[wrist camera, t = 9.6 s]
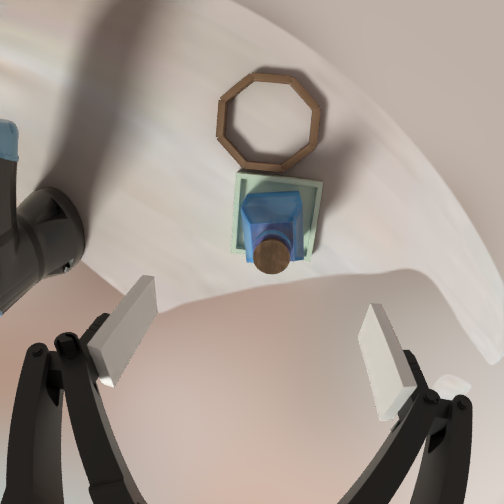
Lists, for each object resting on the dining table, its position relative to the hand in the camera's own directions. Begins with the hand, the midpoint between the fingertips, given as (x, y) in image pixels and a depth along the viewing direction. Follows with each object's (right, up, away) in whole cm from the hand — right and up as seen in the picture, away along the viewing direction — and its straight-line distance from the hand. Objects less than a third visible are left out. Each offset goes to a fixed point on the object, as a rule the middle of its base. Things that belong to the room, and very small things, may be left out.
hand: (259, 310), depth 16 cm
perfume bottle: (+2, +8, +19) cm, 21 cm away
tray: (+2, +8, +19) cm, 21 cm away
